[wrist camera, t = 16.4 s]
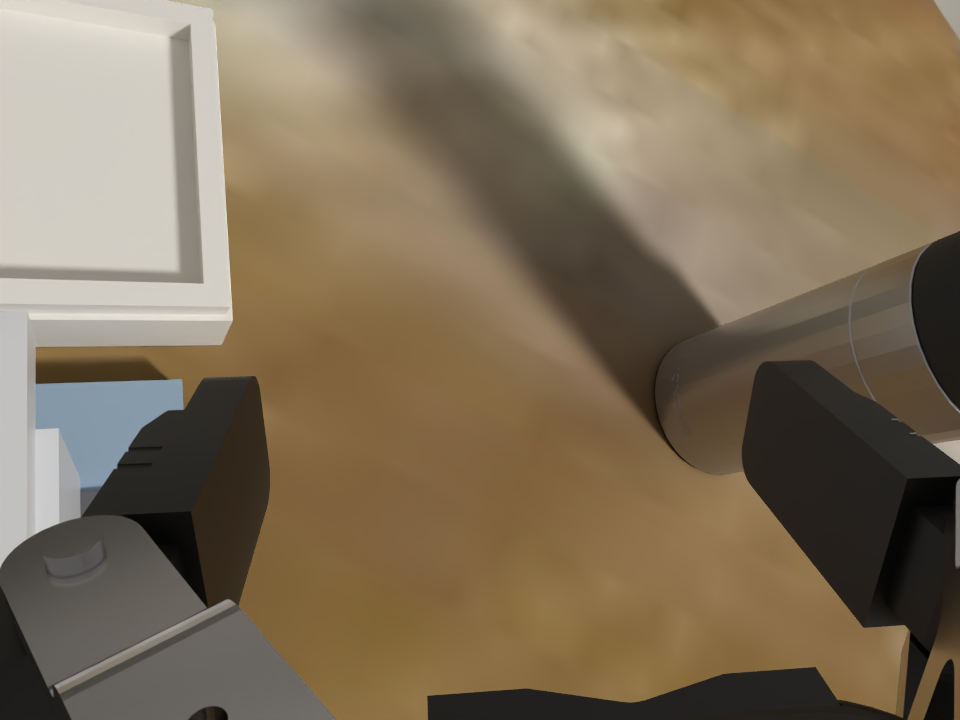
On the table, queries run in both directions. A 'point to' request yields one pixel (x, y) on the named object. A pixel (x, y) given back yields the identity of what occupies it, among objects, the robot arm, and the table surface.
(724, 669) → the table surface
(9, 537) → the snap cover
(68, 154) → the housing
